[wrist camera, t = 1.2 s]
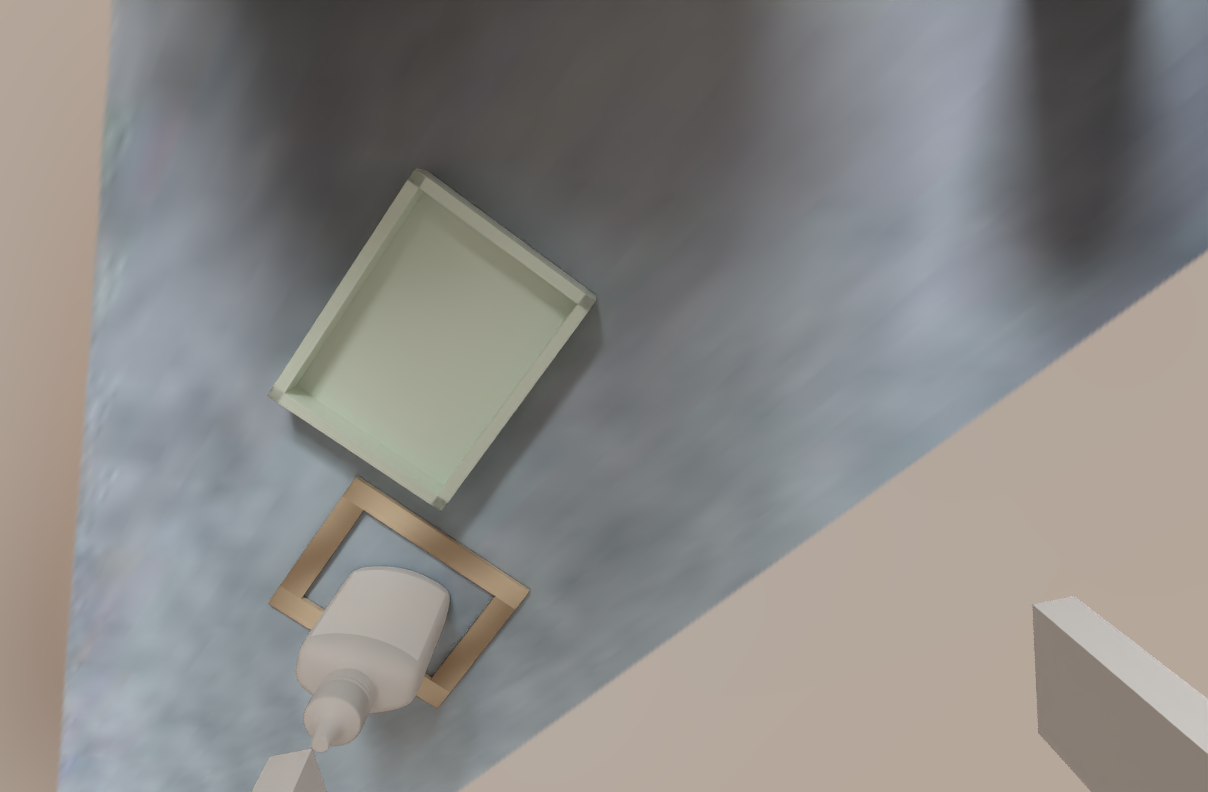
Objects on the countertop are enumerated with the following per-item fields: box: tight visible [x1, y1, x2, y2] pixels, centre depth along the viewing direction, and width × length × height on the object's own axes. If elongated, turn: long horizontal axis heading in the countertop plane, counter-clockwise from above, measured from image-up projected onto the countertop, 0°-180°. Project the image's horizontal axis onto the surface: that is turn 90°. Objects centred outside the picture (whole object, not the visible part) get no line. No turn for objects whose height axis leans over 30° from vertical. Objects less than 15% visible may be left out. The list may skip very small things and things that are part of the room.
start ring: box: [268, 476, 530, 708], centre depth 42 cm, size 11×9×1 cm
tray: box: [267, 168, 596, 511], centre depth 37 cm, size 10×13×2 cm
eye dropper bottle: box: [296, 566, 450, 752], centre depth 36 cm, size 4×6×12 cm
